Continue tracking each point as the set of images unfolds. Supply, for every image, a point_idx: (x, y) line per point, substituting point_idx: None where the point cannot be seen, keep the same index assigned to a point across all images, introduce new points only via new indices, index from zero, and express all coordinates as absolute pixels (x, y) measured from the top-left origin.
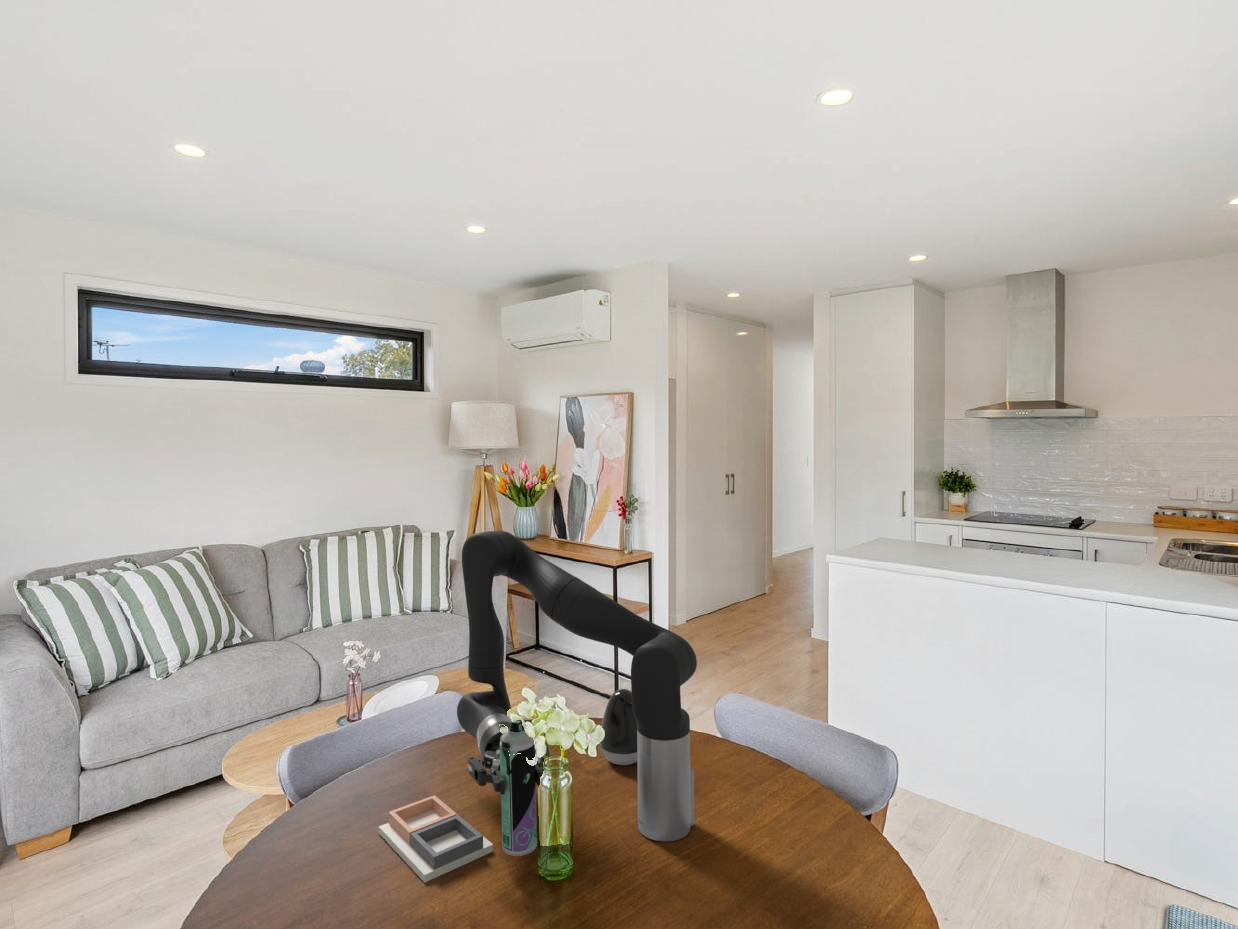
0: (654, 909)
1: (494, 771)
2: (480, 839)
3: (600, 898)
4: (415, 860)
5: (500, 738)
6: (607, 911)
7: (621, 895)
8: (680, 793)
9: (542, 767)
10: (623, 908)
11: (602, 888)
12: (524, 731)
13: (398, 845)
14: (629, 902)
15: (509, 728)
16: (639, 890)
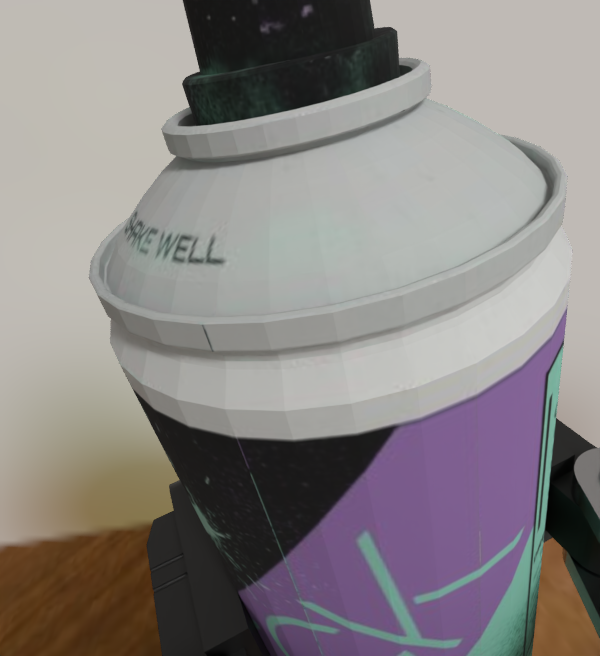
0: (18, 573)
1: (586, 456)
2: None
3: (136, 599)
4: None
5: (513, 137)
6: (131, 550)
7: (75, 619)
8: None
9: (160, 622)
10: (89, 566)
11: (118, 648)
12: (189, 119)
13: None
14: (66, 592)
15: (416, 61)
16: (16, 650)
